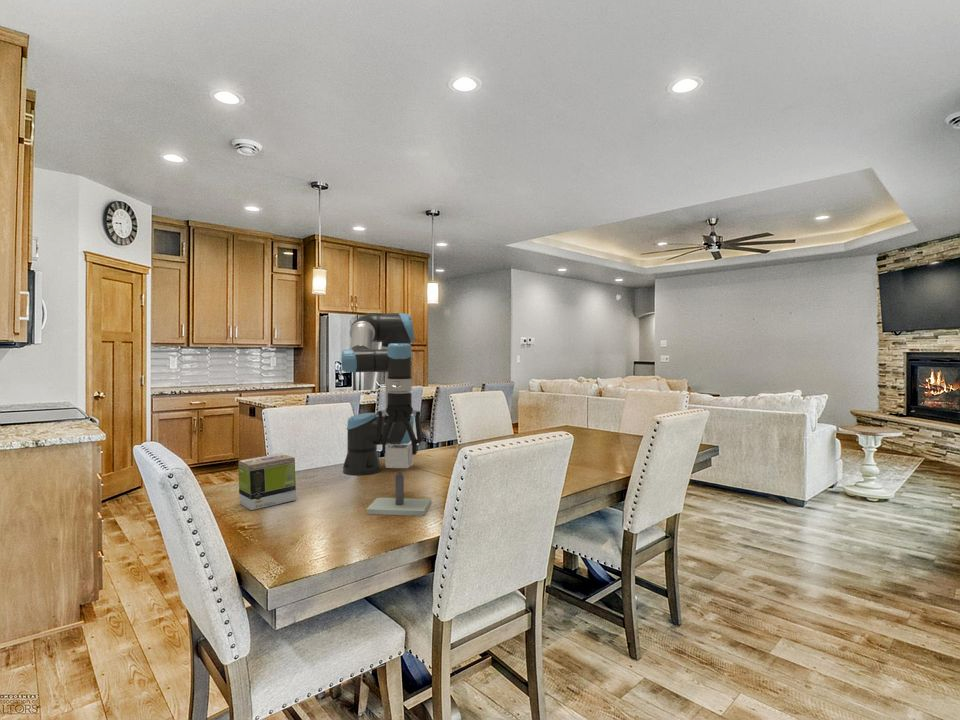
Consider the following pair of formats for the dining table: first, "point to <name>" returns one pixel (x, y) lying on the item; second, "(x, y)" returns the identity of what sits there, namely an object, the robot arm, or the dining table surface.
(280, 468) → the tea box
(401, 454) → the collar
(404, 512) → the post block
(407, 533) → the dining table surface
